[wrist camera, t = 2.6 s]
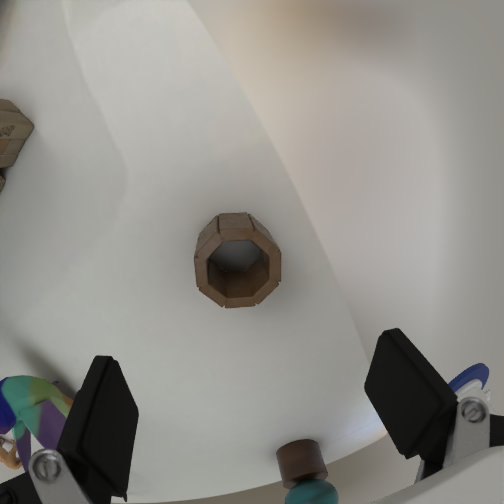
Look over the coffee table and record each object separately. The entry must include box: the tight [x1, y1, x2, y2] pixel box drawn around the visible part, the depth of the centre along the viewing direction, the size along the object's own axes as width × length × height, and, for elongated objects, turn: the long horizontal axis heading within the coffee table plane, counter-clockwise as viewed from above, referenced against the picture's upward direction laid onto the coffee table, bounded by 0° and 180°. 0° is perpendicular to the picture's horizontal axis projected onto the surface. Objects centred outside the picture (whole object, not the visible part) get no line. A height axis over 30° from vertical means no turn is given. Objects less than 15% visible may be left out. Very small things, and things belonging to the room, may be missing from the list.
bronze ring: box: [194, 212, 281, 308], centre depth 21 cm, size 6×6×4 cm
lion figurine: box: [0, 438, 22, 469], centre depth 27 cm, size 15×5×9 cm, turn 91°
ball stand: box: [276, 440, 339, 504], centre depth 28 cm, size 7×7×13 cm
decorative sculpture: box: [0, 375, 73, 472], centre depth 18 cm, size 17×18×15 cm
